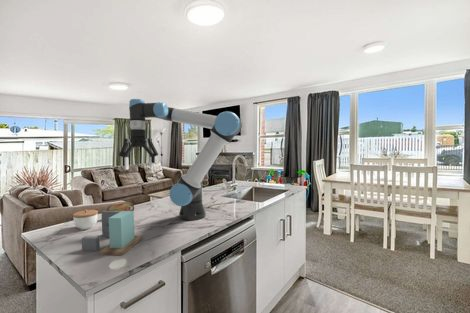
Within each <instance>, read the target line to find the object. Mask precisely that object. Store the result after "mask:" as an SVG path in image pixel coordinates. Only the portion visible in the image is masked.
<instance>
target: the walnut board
mask: <svg viewBox="0 0 470 313" xmlns="http://www.w3.org/2000/svg"><path fill="white" fill-rule="evenodd" d="M134 236H135V238H134V239H133V240H132V241H131V242H129V243H128V244H127V245H126V246H124V247H123V248H110V244H108V245H107V246H106V247H104V248H103V249H102V250H100V251H99V254H100V256H101V255H102V256H104V255H106V256H107V255H111V256H114V255H115V256H117V255H118V256H122V255H123V256H124V255H125V254H126V253H127V252H128V251H130V250H131V249H132V247H134V246H135V245H136V244H138V242H140V241H141V240H142V239H143V235H134Z"/></svg>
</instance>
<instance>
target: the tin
mask: <svg viewBox="0 0 470 313" xmlns="http://www.w3.org/2000/svg"><path fill="white" fill-rule="evenodd" d="M106 211H135V205H134V204H133V202H130V201H122V202H118V203H113V204H111V205H109V206H108V207H107V209H106Z"/></svg>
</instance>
